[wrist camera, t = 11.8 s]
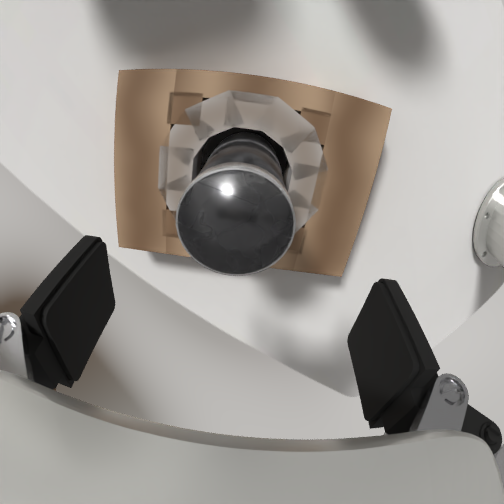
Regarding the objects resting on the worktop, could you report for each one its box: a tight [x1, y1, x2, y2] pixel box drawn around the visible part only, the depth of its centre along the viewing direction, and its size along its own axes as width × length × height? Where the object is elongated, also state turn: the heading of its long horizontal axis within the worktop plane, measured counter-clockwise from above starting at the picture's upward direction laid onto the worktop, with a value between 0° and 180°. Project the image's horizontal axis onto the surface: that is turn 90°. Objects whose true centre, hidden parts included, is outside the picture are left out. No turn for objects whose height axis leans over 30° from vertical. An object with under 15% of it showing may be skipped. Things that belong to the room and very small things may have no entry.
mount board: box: [114, 69, 392, 277], centre depth 22 cm, size 20×15×4 cm
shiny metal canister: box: [176, 132, 296, 276], centre depth 19 cm, size 6×6×12 cm
